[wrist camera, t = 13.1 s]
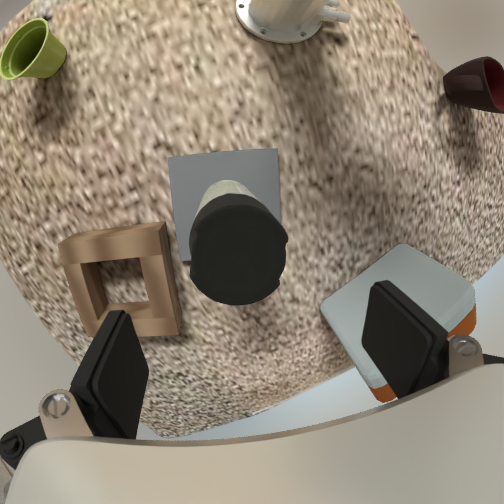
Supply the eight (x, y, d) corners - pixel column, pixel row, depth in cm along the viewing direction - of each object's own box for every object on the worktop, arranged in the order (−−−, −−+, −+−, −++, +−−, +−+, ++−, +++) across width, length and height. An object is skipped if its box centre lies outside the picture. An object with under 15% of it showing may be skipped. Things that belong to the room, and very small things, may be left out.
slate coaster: (275, 148, 34) (277, 148, 33) (279, 248, 39) (281, 251, 38) (169, 157, 33) (167, 157, 32) (181, 258, 38) (180, 261, 37)
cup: (472, 112, 35) (516, 113, 24) (431, 115, 35) (482, 113, 23) (459, 67, 31) (502, 60, 20) (416, 62, 31) (463, 49, 20)
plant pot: (27, 96, 25) (-6, 89, 17) (34, 47, 22) (5, 34, 14) (72, 78, 26) (42, 64, 18) (79, 28, 23) (54, 8, 15)
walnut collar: (165, 221, 36) (158, 231, 31) (182, 315, 41) (178, 334, 36) (73, 233, 34) (57, 244, 30) (98, 319, 40) (88, 337, 35)
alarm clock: (336, 334, 46) (388, 419, 27) (315, 303, 43) (372, 395, 24) (414, 275, 45) (488, 333, 25) (401, 238, 42) (489, 291, 22)
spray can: (198, 226, 35) (180, 305, 17) (204, 175, 33) (189, 197, 15) (248, 232, 37) (282, 313, 18) (256, 182, 34) (305, 213, 16)
